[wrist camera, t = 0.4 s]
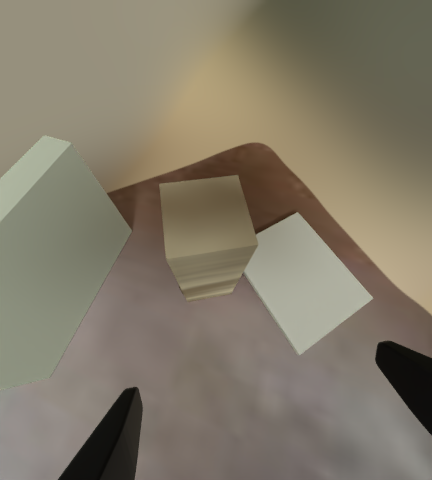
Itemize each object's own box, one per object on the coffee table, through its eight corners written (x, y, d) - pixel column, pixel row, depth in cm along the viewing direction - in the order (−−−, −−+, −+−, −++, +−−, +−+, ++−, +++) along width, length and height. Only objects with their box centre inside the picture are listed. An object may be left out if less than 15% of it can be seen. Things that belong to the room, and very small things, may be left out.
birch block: (230, 293, 21) (258, 244, 10) (184, 302, 21) (159, 260, 10) (222, 254, 23) (237, 174, 12) (179, 260, 23) (153, 184, 11)
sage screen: (132, 231, 24) (71, 142, 13) (49, 378, 18) (-198, 440, 7) (116, 226, 24) (44, 135, 13) (29, 369, 18) (-242, 418, 7)
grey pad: (369, 299, 22) (373, 298, 21) (297, 354, 19) (299, 355, 19) (295, 214, 26) (297, 211, 25) (228, 250, 23) (229, 248, 23)
